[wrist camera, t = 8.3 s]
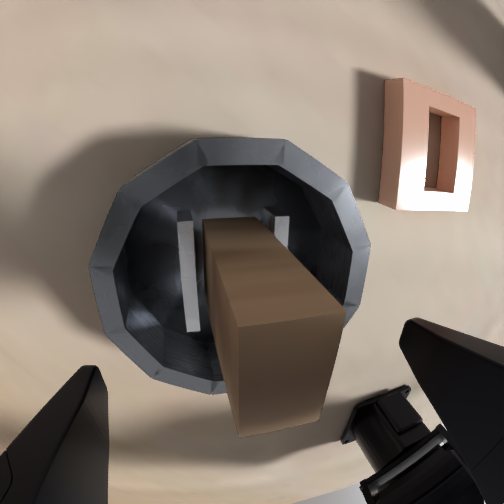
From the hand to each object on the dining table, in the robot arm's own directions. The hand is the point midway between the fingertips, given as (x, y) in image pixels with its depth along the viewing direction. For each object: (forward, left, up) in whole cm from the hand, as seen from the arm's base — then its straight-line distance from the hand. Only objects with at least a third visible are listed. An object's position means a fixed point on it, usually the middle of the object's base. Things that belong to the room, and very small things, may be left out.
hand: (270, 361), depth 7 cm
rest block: (+6, -12, -8) cm, 15 cm away
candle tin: (0, 0, -8) cm, 8 cm away
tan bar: (0, 0, -7) cm, 7 cm away
